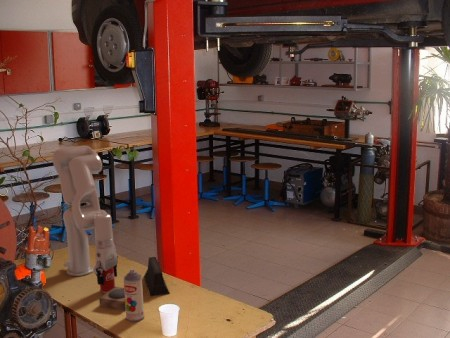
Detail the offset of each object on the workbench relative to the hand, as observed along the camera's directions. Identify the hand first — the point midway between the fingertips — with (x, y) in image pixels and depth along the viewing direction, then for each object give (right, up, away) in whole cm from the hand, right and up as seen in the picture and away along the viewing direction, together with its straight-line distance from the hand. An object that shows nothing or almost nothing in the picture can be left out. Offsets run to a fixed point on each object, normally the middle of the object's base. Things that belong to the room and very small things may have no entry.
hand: (107, 280), depth 241 cm
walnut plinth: (+8, -7, -11) cm, 15 cm away
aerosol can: (+16, -10, -25) cm, 31 cm away
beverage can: (0, -5, +1) cm, 5 cm away
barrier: (+20, -4, +7) cm, 22 cm away
